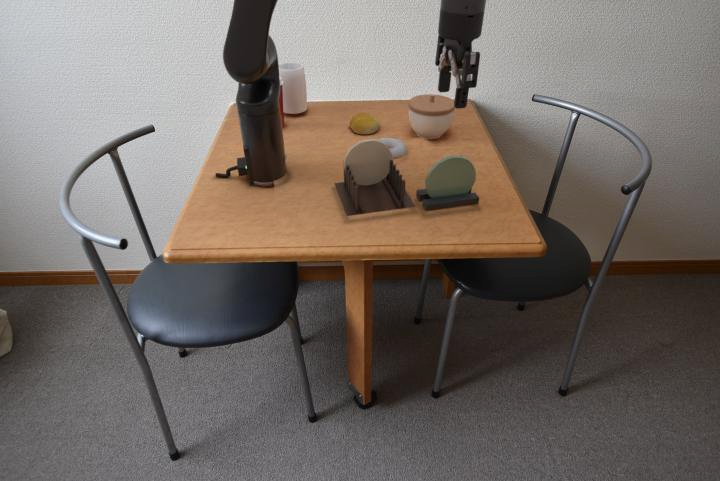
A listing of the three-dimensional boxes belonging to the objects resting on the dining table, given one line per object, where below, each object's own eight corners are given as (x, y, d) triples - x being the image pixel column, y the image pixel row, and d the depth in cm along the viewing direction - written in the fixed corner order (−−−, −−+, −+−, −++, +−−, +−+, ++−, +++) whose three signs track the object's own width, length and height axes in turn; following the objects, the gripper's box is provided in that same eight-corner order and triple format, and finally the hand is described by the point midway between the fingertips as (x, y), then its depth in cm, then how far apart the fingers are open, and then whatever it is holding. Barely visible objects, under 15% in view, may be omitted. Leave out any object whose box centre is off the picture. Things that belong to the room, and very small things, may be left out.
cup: (292, 120, 142) (288, 72, 133) (275, 113, 147) (269, 66, 138) (314, 112, 147) (310, 65, 138) (296, 105, 152) (292, 59, 143)
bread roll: (356, 137, 132) (356, 123, 130) (346, 125, 139) (345, 112, 136) (384, 132, 134) (384, 119, 132) (372, 121, 141) (372, 108, 139)
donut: (365, 163, 120) (404, 166, 118) (364, 151, 118) (404, 153, 116) (372, 146, 128) (409, 148, 126) (372, 134, 126) (409, 136, 124)
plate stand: (424, 216, 100) (426, 204, 99) (415, 201, 105) (416, 190, 103) (477, 209, 102) (479, 197, 101) (466, 194, 107) (467, 183, 106)
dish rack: (346, 222, 99) (345, 191, 95) (334, 188, 110) (332, 159, 106) (415, 212, 102) (417, 182, 97) (396, 180, 113) (397, 152, 108)
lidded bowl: (410, 144, 128) (412, 104, 122) (403, 125, 138) (405, 88, 132) (456, 142, 129) (461, 103, 122) (446, 124, 139) (450, 86, 132)
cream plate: (345, 188, 107) (343, 143, 101) (344, 186, 108) (342, 141, 101) (392, 182, 109) (393, 138, 102) (390, 180, 110) (392, 136, 103)
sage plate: (423, 205, 102) (430, 159, 95) (421, 203, 103) (428, 156, 96) (470, 201, 104) (480, 155, 98) (468, 199, 105) (478, 153, 98)
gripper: (427, -1, 86) (420, 88, 96) (457, 17, 75) (446, 115, 85) (466, -3, 87) (455, 85, 97) (501, 14, 76) (485, 111, 86)
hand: (451, 99), depth 91 cm, fingers open, 8 cm apart
